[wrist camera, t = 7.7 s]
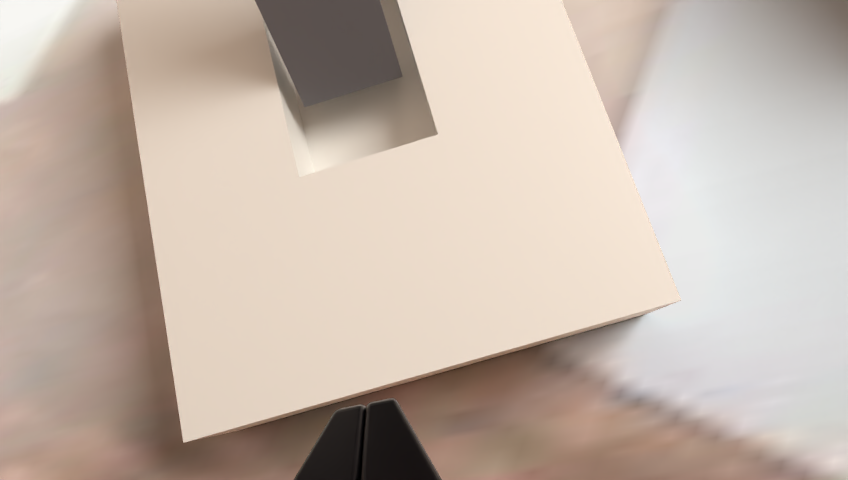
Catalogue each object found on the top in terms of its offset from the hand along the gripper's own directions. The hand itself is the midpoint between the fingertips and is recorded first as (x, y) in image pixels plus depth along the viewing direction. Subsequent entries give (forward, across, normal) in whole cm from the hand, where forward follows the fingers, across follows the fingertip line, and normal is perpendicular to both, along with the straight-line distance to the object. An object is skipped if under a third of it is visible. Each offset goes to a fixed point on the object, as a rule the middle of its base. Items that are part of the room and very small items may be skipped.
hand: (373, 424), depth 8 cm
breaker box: (+17, 0, +1) cm, 17 cm away
